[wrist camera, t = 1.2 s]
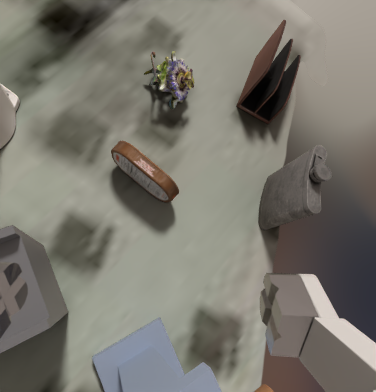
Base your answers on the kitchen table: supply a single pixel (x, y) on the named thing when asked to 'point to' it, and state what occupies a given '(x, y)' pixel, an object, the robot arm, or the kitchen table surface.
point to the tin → (144, 172)
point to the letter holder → (269, 80)
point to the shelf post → (149, 365)
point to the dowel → (264, 389)
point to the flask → (294, 190)
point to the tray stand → (30, 288)
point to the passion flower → (172, 78)
